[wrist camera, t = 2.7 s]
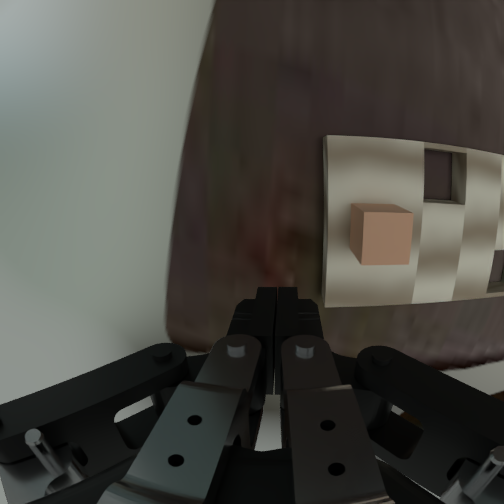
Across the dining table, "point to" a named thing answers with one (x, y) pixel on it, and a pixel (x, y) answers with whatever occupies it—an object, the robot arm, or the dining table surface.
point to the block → (381, 234)
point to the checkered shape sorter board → (424, 222)
